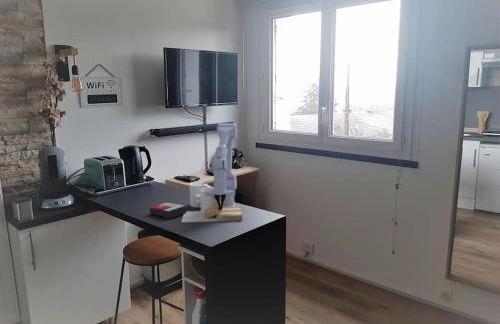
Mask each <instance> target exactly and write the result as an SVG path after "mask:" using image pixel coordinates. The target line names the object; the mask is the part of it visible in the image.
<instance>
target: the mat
mask: <svg viewBox="0 0 500 324" xmlns="http://www.w3.org/2000/svg"><path fill="white" fill-rule="evenodd" d="M182 215H183V216H182V219H181V223H182V224H183V223H184V224H186V223H204V222H205V223H208V222H211V223H212V222H218V221H217V215H214V216H212V217H209V218H207V219H206V218H205V216H204V213H202V212H201V210H193V211H190V210H189V211H188V210H186V213H185V214H182Z"/></svg>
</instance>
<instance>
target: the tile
mask: <svg viewBox="0 0 500 324" xmlns="http://www.w3.org/2000/svg"><path fill="white" fill-rule="evenodd" d="M219 213H220V212H219V206H218V204H216V205H215V206H212V207H210V208H207V209H204V216H205V218H206V219H207V218H209V217H212V216H214V215H217V214H219Z"/></svg>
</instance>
